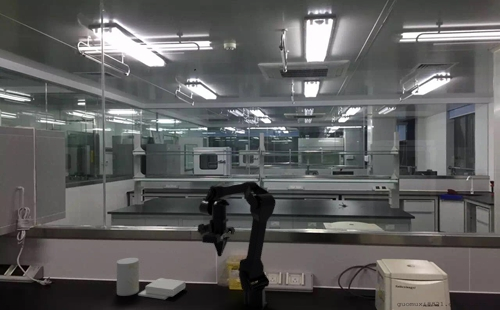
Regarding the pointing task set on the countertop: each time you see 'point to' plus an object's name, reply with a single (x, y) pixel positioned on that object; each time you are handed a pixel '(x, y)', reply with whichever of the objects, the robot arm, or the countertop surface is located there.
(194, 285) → the countertop surface
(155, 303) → the countertop surface
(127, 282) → the grey upright cylinder
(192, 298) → the countertop surface
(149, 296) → the mat
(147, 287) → the white rectangular block
